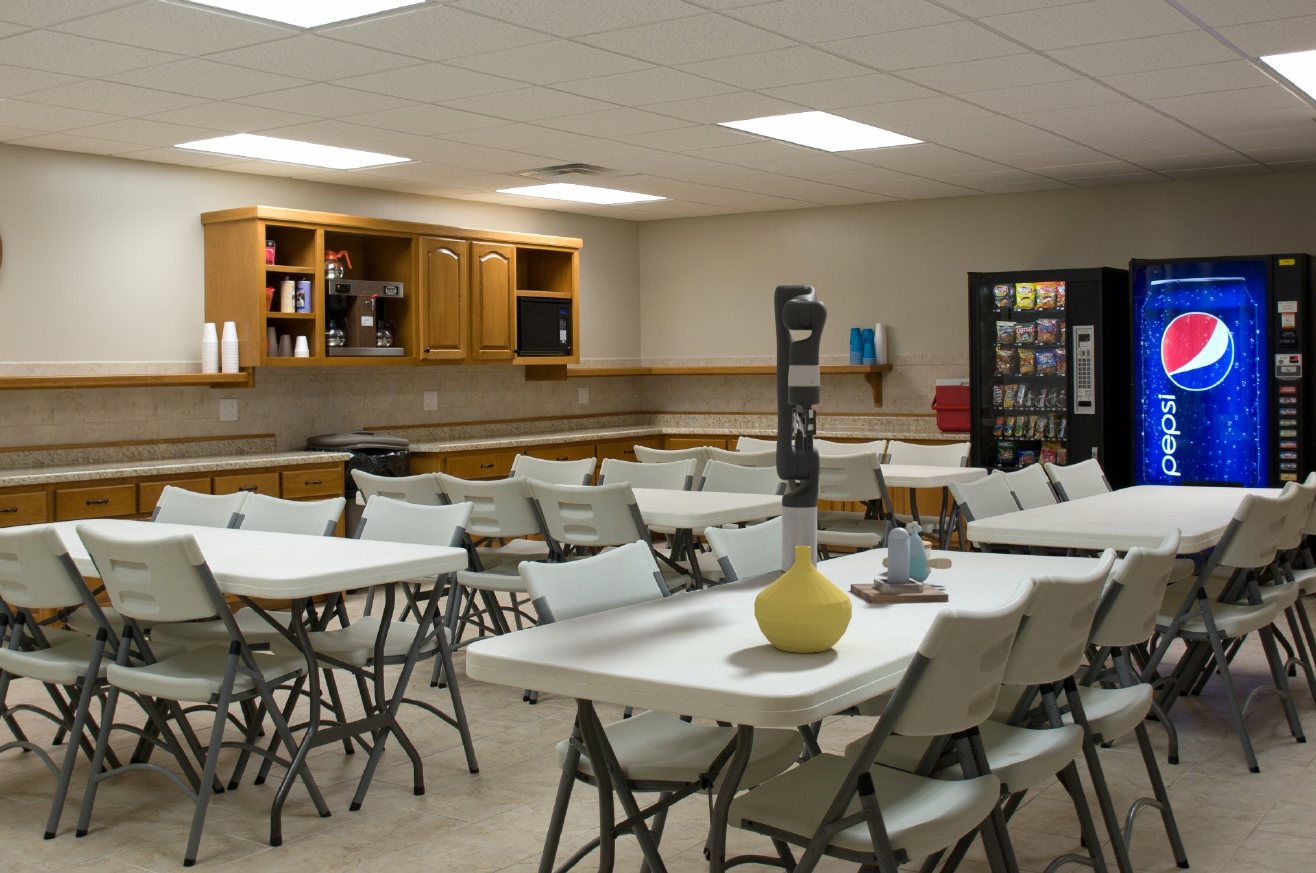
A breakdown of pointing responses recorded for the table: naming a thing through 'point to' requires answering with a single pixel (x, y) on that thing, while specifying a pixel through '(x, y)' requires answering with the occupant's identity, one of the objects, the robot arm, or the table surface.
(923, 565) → the teal toy airplane
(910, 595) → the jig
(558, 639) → the table surface
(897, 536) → the grey rounded-top cylinder
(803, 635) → the vase
